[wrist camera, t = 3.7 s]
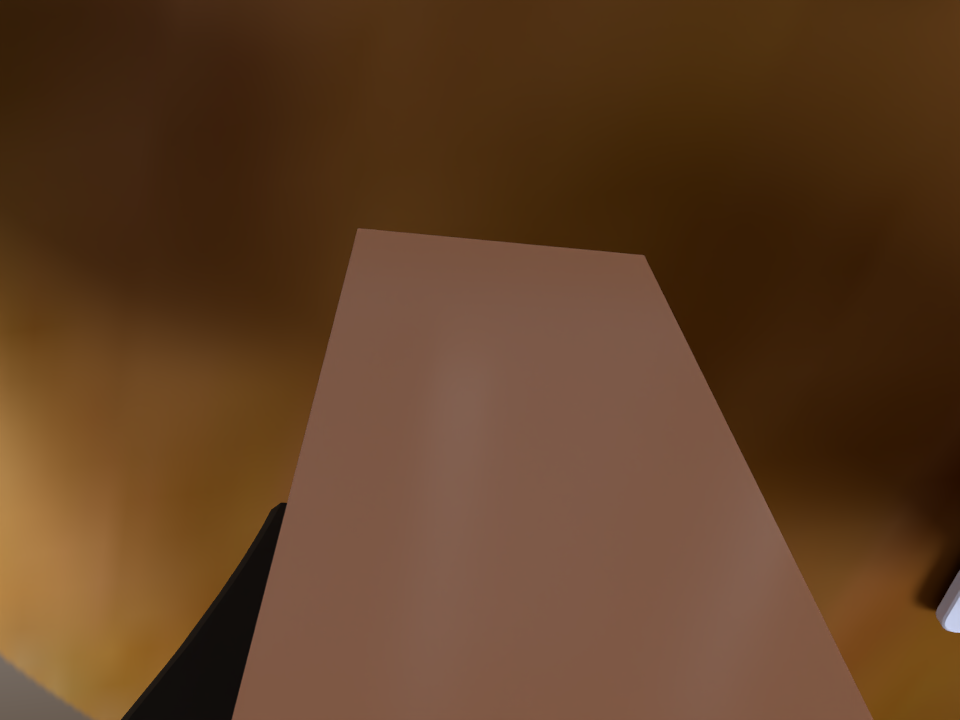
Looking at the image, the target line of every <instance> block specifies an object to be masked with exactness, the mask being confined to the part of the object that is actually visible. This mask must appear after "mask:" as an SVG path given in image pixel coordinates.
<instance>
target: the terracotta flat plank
mask: <svg viewBox="0 0 960 720" xmlns="http://www.w3.org/2000/svg"><path fill="white" fill-rule="evenodd" d="M232 720H873V718H872V716H871V714H870V712H869V710H868V708H867V706H866V704H865V702H864V700H863V698H862V696H861V694H860V692H859V690H858V688H857V686H856V684H855V682H854V680H853V678H852V676H851V674H850V672H849V670H848V668H847V666H846V664H845V662H844V660H843V658H842V656H841V654H840V652H839V650H838V648H837V645H836V643H835V641H834V639H833V637H832V635H831V633H830V631H829V629H828V627H827V625H826V623H825V621H824V619H823V617H822V615H821V613H820V611H819V609H818V607H817V605H816V603H815V601H814V599H813V597H812V595H811V593H810V591H809V589H808V587H807V585H806V583H805V581H804V579H803V577H802V575H801V572H800V570H799V568H798V566H797V564H796V562H795V560H794V558H793V556H792V554H791V552H790V550H789V548H788V546H787V544H786V542H785V540H784V538H783V536H782V534H781V532H780V530H779V528H778V526H777V524H776V522H775V520H774V518H773V516H772V514H771V512H770V510H769V508H768V506H767V504H766V502H765V499H764V497H763V495H762V493H761V491H760V489H759V487H758V485H757V483H756V481H755V479H754V477H753V475H752V473H751V471H750V469H749V467H748V465H747V463H746V461H745V459H744V457H743V455H742V453H741V451H740V449H739V447H738V445H737V443H736V441H735V439H734V437H733V435H732V433H731V431H730V429H729V426H728V424H727V422H726V420H725V418H724V416H723V414H722V412H721V410H720V408H719V406H718V404H717V402H716V400H715V398H714V396H713V394H712V392H711V390H710V388H709V386H708V384H707V382H706V380H705V378H704V376H703V374H702V372H701V370H700V368H699V366H698V364H697V362H696V360H695V358H694V356H693V353H692V351H691V349H690V347H689V345H688V343H687V341H686V339H685V337H684V335H683V333H682V331H681V329H680V327H679V325H678V323H677V321H676V319H675V317H674V315H673V313H672V311H671V309H670V307H669V305H668V303H667V301H666V299H665V297H664V295H663V293H662V291H661V289H660V287H659V285H658V283H657V280H656V278H655V276H654V274H653V272H652V270H651V268H650V266H649V264H648V262H647V260H646V258H645V256H644V255H637V254H626V253H615V252H605V251H594V250H584V249H573V248H562V247H552V246H541V245H531V244H520V243H509V242H499V241H488V240H478V239H467V238H456V237H446V236H435V235H425V234H414V233H403V232H393V231H382V230H372V229H361V228H358V229H357V233H356V237H355V241H354V245H353V249H352V253H351V257H350V260H349V264H348V268H347V272H346V276H345V280H344V284H343V288H342V292H341V296H340V299H339V303H338V307H337V311H336V315H335V319H334V323H333V327H332V331H331V335H330V338H329V342H328V346H327V350H326V354H325V358H324V362H323V366H322V370H321V374H320V377H319V381H318V385H317V389H316V393H315V397H314V401H313V405H312V409H311V413H310V416H309V420H308V424H307V428H306V432H305V436H304V440H303V444H302V448H301V452H300V455H299V459H298V463H297V467H296V471H295V475H294V479H293V483H292V487H291V491H290V494H289V498H288V502H287V506H286V510H285V514H284V518H283V522H282V526H281V529H280V533H279V537H278V541H277V545H276V549H275V553H274V557H273V561H272V565H271V568H270V572H269V576H268V580H267V584H266V588H265V592H264V596H263V600H262V604H261V607H260V611H259V615H258V619H257V623H256V627H255V631H254V635H253V639H252V643H251V646H250V650H249V654H248V658H247V662H246V666H245V670H244V674H243V678H242V682H241V685H240V689H239V693H238V697H237V701H236V705H235V709H234V713H233V717H232Z"/></svg>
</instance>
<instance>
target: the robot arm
mask: <svg viewBox="0 0 960 720" xmlns="http://www.w3.org/2000/svg"><path fill="white" fill-rule="evenodd" d="M286 506H287V503H280V504H279V505H277V506H276V507H274V508H273V509H272V510H271V511H270V513H269V515H268V517H267V519H266V521H265V523H264V524H263V526H262V528H261V530H260V531H259V533H258V535H257V536H256V538H255V540H254V541H253V543H252V545H251V546H250V548H249V549H248V551H247V553H246V554H245V556H244V557H243V559H242V560H241V562H240V564H239V565H238V567H237V568H236V570H235V571H234V573H233V574H232V575H231V577H230V578H229V580H228V581H227V583H226V584H225V586H224V587H223V589H222V590H221V592H220V593H219V595H218V596H217V597H216V599H215V600H214V601H213V603H212V604H211V606H210V607H209V608H208V610H207V611H206V612H205V614H204V615H203V616H202V618H201V619H200V621H199V622H198V623H197V625H196V626H195V627H194V629H193V630H192V631H191V633H190V634H189V636H188V637H187V638H186V640H185V641H184V642H183V644H182V645H181V646H180V648H179V649H178V650H177V652H176V653H175V654H174V655H173V657H172V658H171V659H170V661H169V662H168V663H167V664H166V665H165V667H164V668H163V669H162V670H161V672H160V673H159V674H158V675H157V676H156V678H155V679H154V680H153V681H152V683H151V684H150V685H149V686H148V687H147V689H146V690H145V691H144V692H143V694H142V695H141V696H140V697H139V698H138V700H137V701H136V702H135V703H134V705H133V706H132V707H131V708H130V709H129V711H128V712H127V713H126V714H125V715H124V717H123V718H122V719H121V720H232V717H233V713H234V709H235V705H236V701H237V697H238V693H239V689H240V685H241V682H242V678H243V674H244V670H245V666H246V662H247V658H248V654H249V650H250V646H251V643H252V639H253V635H254V631H255V627H256V623H257V619H258V615H259V611H260V607H261V604H262V600H263V596H264V592H265V588H266V584H267V580H268V576H269V572H270V568H271V565H272V561H273V557H274V553H275V549H276V545H277V541H278V537H279V533H280V529H281V526H282V522H283V518H284V514H285V510H286ZM936 616H937V619H938V620H939V622H940V624H941V625H942V627H943V628H944V629H946V630H947V631H951V632H959V633H960V570H959V572H958V574H957V575H956V577H955V579H954V580H953V582H952V584H951V586H950V587H949V589H948V591H947V593H946V594H945V596H944V598H943V599H942V601H941V603H940V605H939V606H938V608H937V611H936Z"/></svg>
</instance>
